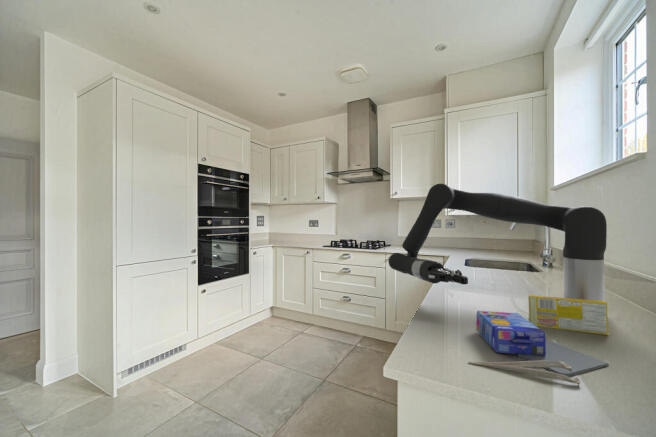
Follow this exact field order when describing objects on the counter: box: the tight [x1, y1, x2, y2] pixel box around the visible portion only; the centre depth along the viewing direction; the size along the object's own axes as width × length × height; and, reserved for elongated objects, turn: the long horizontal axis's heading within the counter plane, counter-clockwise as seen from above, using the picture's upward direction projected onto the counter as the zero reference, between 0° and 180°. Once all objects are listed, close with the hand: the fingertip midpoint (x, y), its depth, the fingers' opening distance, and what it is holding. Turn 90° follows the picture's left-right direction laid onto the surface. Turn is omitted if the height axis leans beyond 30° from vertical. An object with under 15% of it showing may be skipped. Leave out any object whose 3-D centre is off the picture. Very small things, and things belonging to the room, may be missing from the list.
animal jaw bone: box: [467, 360, 581, 385], centre depth 52 cm, size 18×5×2 cm, turn 68°
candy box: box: [528, 294, 610, 336], centre depth 72 cm, size 16×2×8 cm, turn 65°
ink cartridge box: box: [475, 310, 547, 356], centre depth 62 cm, size 10×6×14 cm
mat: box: [514, 338, 609, 377], centre depth 59 cm, size 13×15×1 cm
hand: (466, 280), depth 80 cm, fingers closed
